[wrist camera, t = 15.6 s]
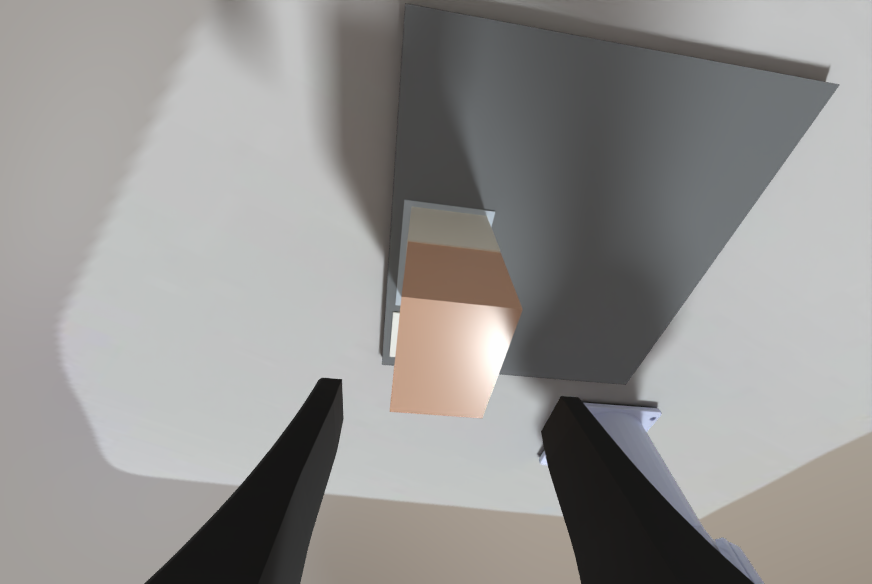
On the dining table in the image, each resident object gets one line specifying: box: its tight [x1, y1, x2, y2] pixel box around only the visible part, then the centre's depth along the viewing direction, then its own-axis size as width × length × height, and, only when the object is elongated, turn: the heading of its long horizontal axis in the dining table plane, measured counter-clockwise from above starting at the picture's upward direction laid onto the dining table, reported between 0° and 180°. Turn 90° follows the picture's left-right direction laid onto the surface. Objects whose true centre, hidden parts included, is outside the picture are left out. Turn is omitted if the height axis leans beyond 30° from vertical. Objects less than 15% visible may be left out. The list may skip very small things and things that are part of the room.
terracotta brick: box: [390, 241, 523, 418], centre depth 14 cm, size 6×4×4 cm, turn 172°
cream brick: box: [405, 207, 500, 263], centre depth 17 cm, size 6×4×4 cm, turn 172°
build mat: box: [382, 3, 839, 385], centre depth 19 cm, size 20×19×1 cm
